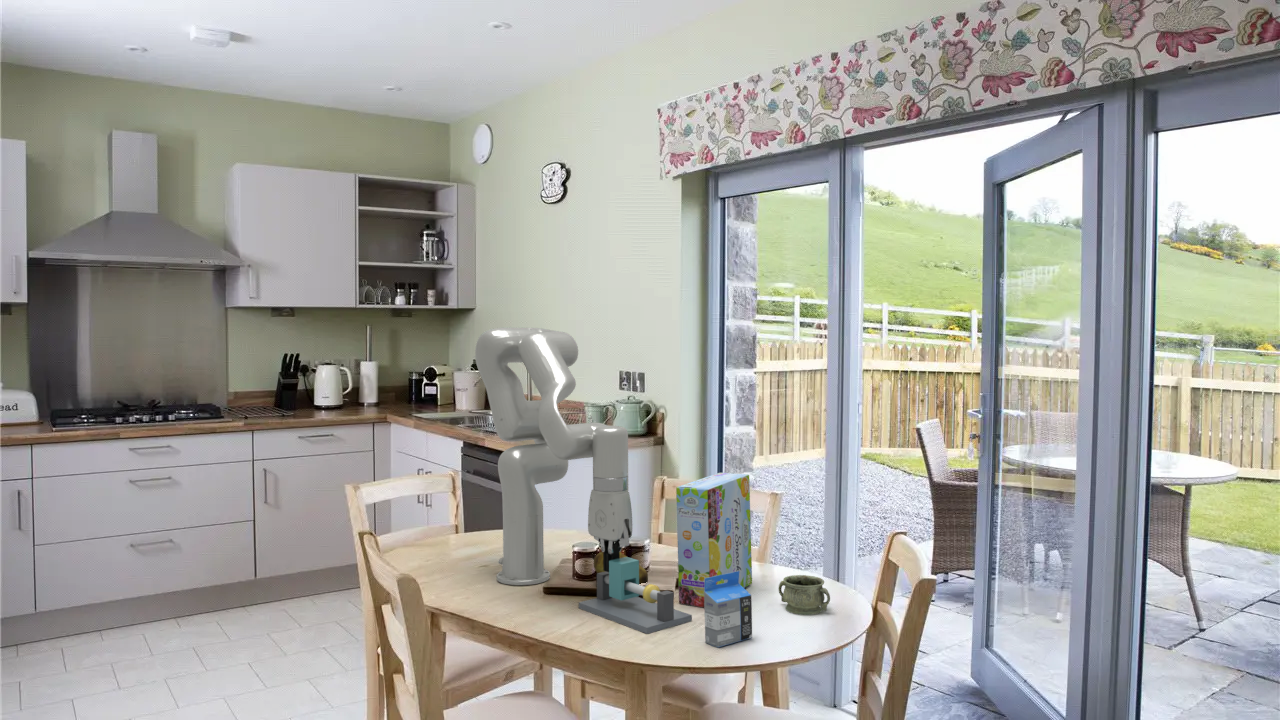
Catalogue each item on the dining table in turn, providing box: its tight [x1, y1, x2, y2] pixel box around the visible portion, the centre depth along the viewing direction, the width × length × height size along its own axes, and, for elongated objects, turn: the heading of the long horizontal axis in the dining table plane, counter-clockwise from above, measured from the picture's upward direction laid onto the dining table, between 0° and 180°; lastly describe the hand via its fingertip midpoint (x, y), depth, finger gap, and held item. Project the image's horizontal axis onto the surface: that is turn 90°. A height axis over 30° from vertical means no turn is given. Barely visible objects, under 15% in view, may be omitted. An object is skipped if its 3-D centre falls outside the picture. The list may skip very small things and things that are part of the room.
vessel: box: [778, 574, 831, 616], centre depth 190 cm, size 12×9×6 cm
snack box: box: [675, 472, 753, 608], centre depth 201 cm, size 22×9×26 cm, turn 149°
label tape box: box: [704, 571, 753, 648], centre depth 170 cm, size 9×4×12 cm, turn 126°
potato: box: [593, 551, 649, 584], centre depth 208 cm, size 8×13×8 cm, turn 44°
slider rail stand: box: [578, 571, 693, 635], centre depth 187 cm, size 22×12×7 cm, turn 41°
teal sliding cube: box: [609, 556, 640, 600], centre depth 189 cm, size 4×5×8 cm
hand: (611, 570), depth 192 cm, fingers closed
